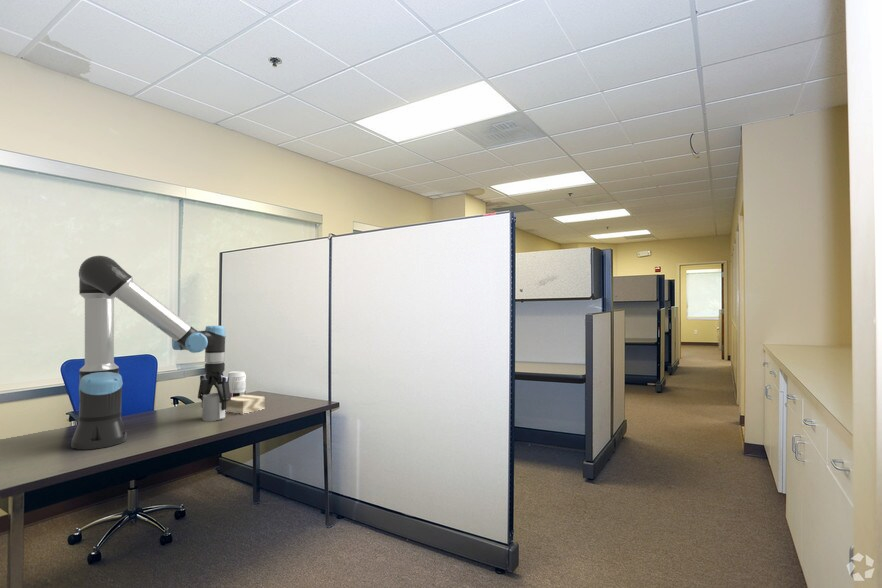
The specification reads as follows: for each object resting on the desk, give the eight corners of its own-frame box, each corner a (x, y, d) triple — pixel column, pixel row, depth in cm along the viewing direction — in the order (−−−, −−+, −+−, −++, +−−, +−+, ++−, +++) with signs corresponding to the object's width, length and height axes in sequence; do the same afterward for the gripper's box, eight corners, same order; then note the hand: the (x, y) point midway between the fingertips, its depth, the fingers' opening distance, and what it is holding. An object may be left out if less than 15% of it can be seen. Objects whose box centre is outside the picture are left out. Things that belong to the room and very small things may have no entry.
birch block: (242, 415, 197) (243, 401, 197) (223, 412, 202) (224, 398, 203) (264, 409, 208) (264, 396, 208) (246, 407, 213) (246, 394, 213)
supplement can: (223, 404, 217) (224, 373, 218) (232, 401, 226) (232, 370, 226) (240, 404, 217) (240, 373, 217) (248, 401, 225) (248, 371, 226)
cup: (218, 421, 185) (218, 396, 185) (198, 421, 185) (198, 396, 186) (228, 416, 194) (228, 393, 194) (209, 416, 194) (209, 392, 194)
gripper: (241, 362, 190) (240, 417, 189) (203, 360, 197) (202, 412, 197) (227, 364, 183) (225, 421, 182) (188, 362, 190) (187, 416, 190)
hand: (213, 416), depth 189 cm, fingers closed on cup, 8 cm apart
